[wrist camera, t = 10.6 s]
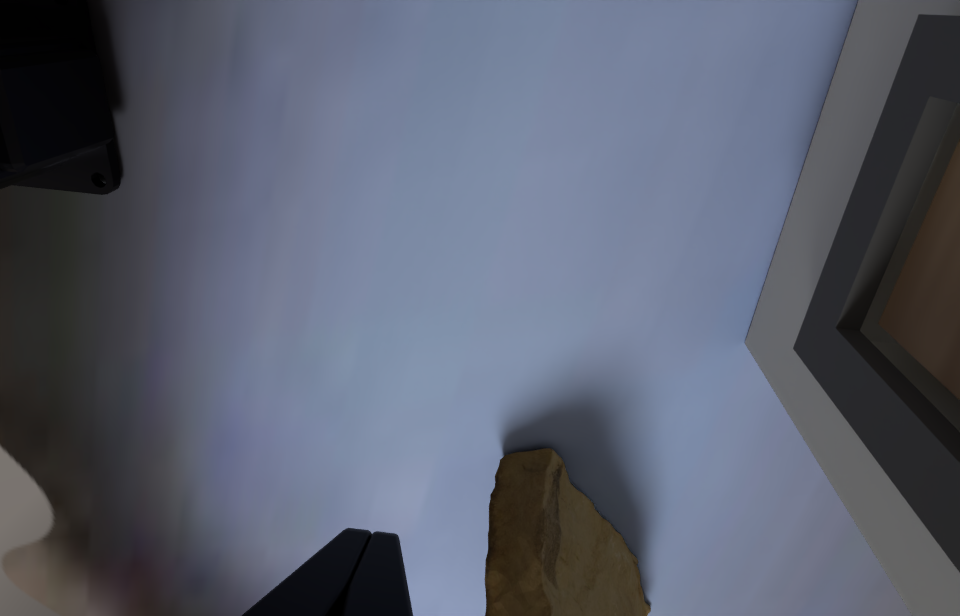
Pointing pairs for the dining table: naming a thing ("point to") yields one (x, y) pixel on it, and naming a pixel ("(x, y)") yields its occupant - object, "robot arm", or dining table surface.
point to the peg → (932, 287)
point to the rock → (554, 547)
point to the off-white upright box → (873, 295)
